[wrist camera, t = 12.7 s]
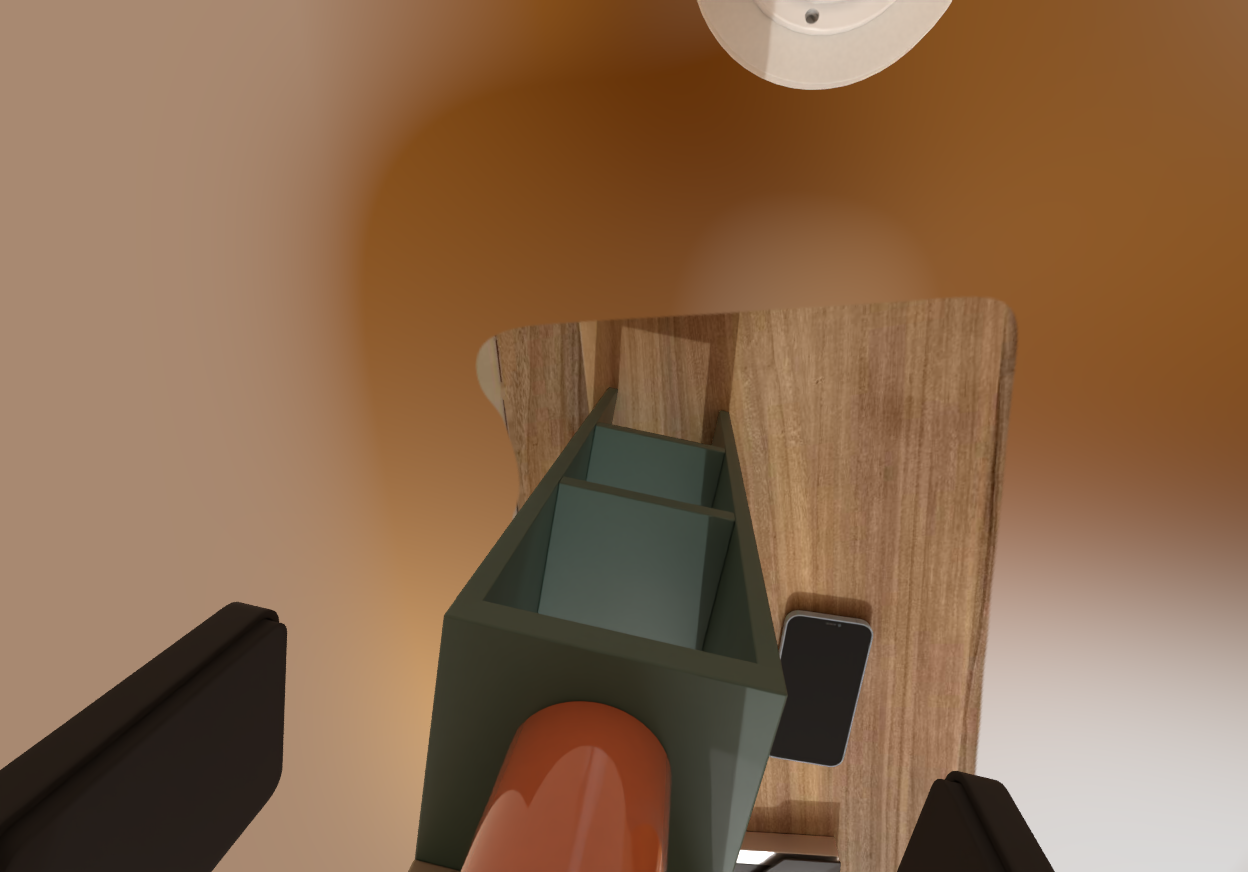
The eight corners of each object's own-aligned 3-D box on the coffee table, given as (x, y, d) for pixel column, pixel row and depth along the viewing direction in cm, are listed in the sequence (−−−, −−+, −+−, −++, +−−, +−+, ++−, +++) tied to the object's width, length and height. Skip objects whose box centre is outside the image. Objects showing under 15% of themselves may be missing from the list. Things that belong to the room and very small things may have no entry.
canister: (519, 682, 18) (438, 872, 13) (688, 722, 18) (683, 934, 12) (497, 815, 20) (415, 1040, 14) (653, 854, 20) (635, 1101, 14)
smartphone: (759, 755, 58) (787, 612, 54) (759, 748, 59) (786, 607, 55) (841, 768, 58) (876, 625, 53) (839, 761, 58) (873, 619, 54)
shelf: (608, 387, 52) (88, 1102, 8) (729, 412, 51) (926, 1345, 7) (588, 498, 54) (120, 1498, 10) (702, 523, 54) (722, 1697, 10)
